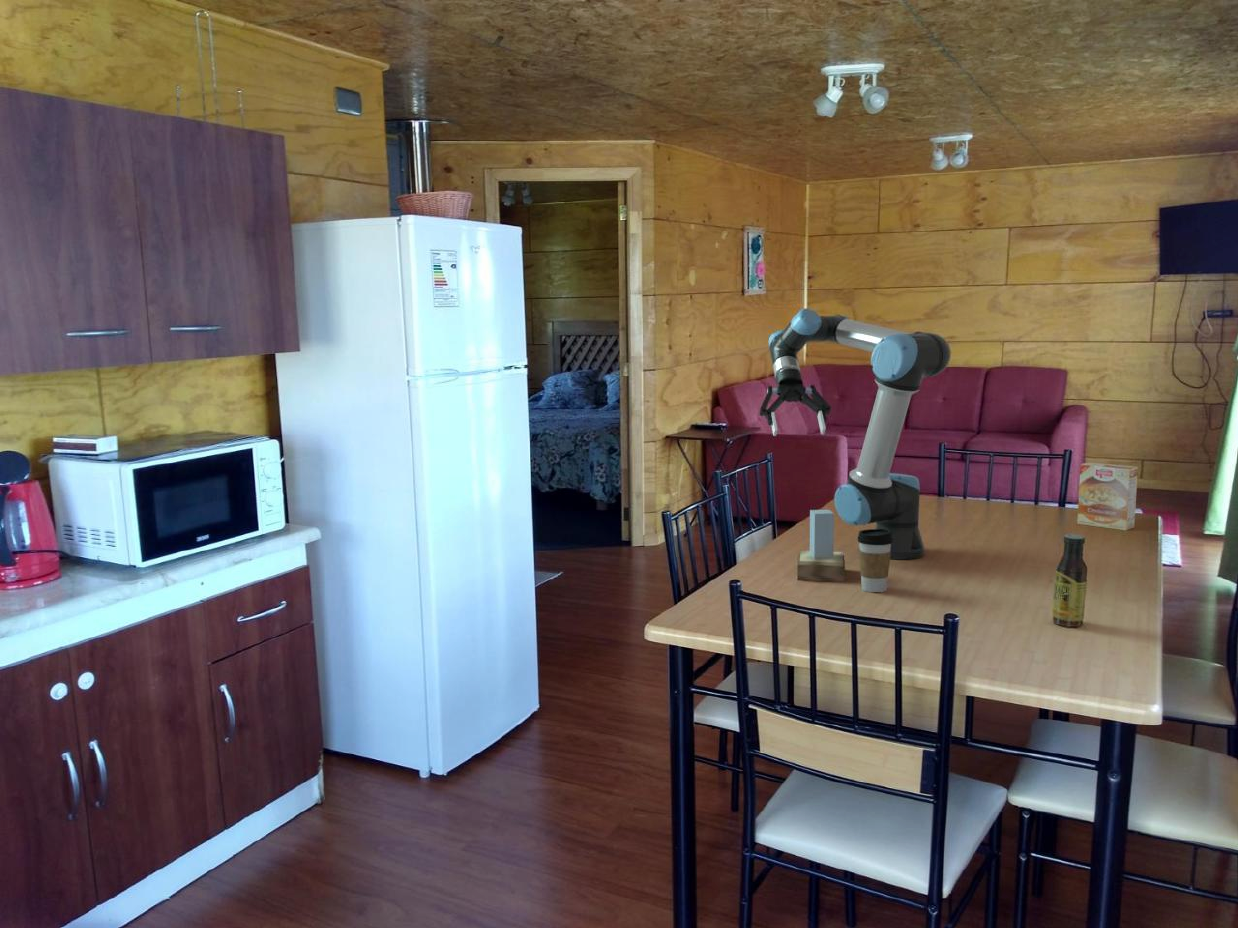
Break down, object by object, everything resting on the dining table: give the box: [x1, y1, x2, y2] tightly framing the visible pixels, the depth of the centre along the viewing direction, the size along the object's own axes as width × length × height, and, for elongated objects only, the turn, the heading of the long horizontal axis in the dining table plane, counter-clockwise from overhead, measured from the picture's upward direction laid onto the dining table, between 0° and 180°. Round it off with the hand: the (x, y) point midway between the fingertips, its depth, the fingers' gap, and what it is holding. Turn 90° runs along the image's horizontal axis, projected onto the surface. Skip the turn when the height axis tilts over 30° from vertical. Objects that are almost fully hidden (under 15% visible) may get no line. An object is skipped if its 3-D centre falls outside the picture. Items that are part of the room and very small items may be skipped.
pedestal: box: [796, 550, 846, 583], centre depth 247 cm, size 12×12×5 cm
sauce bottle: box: [1052, 533, 1088, 628], centre depth 202 cm, size 7×6×20 cm
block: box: [809, 509, 835, 559], centre depth 245 cm, size 5×5×12 cm
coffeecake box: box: [1076, 461, 1139, 531], centre depth 295 cm, size 15×7×20 cm, turn 42°
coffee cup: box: [857, 528, 893, 593], centre depth 232 cm, size 8×8×15 cm
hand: (799, 432), depth 261 cm, fingers open, 13 cm apart
